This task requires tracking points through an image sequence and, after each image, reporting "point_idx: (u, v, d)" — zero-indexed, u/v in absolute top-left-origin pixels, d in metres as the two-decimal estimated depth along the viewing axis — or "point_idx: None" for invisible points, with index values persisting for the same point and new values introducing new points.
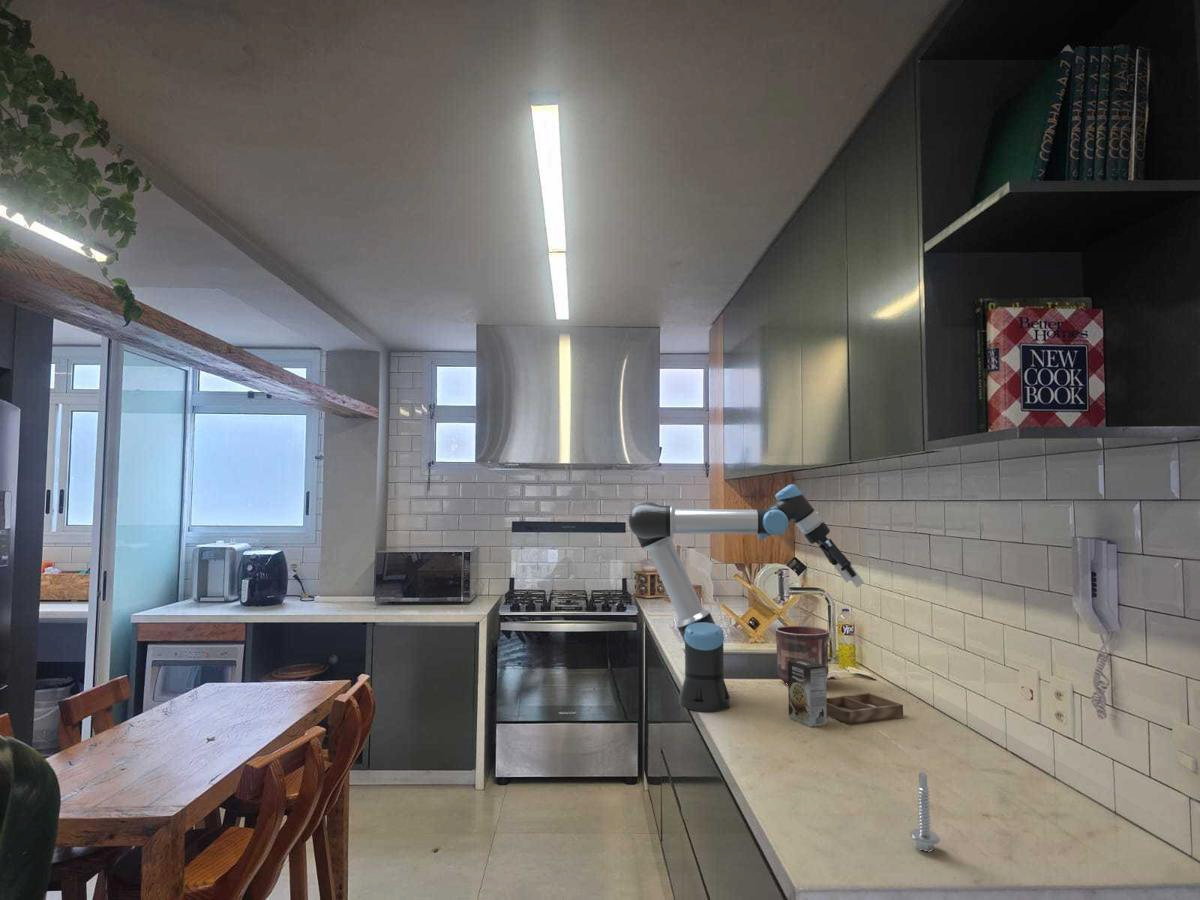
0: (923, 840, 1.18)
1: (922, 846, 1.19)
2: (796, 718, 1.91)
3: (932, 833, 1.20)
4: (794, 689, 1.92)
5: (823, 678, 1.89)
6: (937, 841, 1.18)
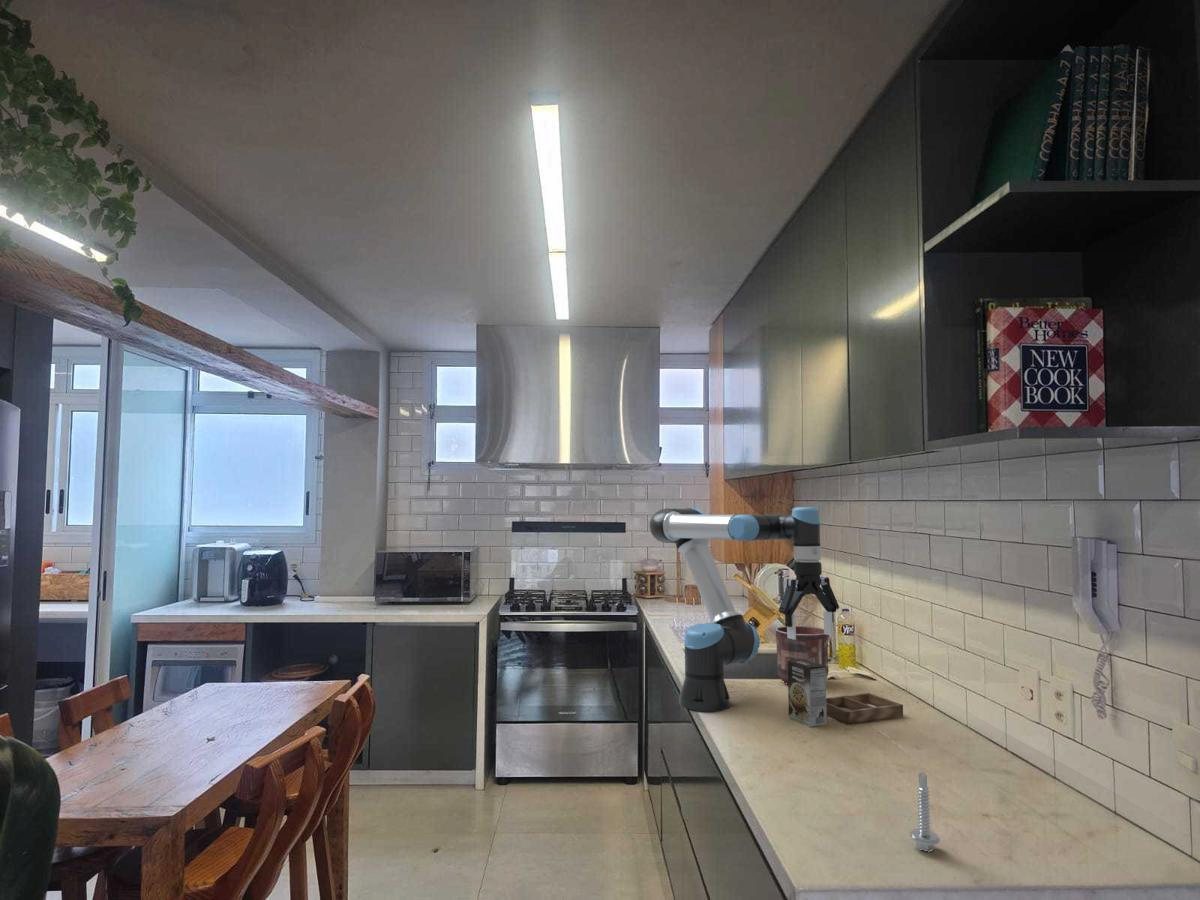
0: (923, 840, 1.18)
1: (922, 846, 1.19)
2: (796, 718, 1.91)
3: (932, 833, 1.20)
4: (794, 689, 1.92)
5: (822, 678, 1.89)
6: (937, 841, 1.18)
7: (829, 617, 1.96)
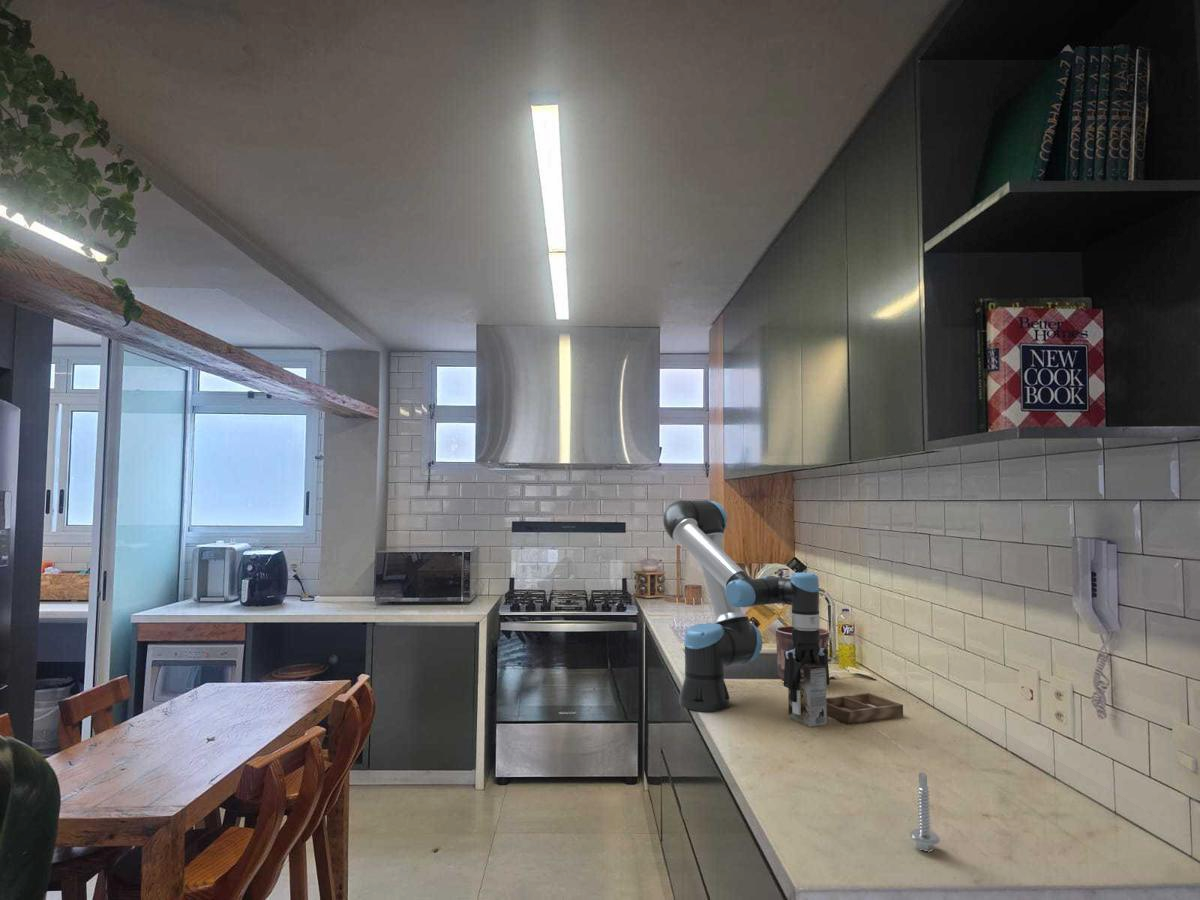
0: (923, 840, 1.18)
1: (922, 846, 1.19)
2: (796, 718, 1.91)
3: (932, 833, 1.20)
4: None
5: (822, 678, 1.89)
6: (937, 841, 1.18)
7: None
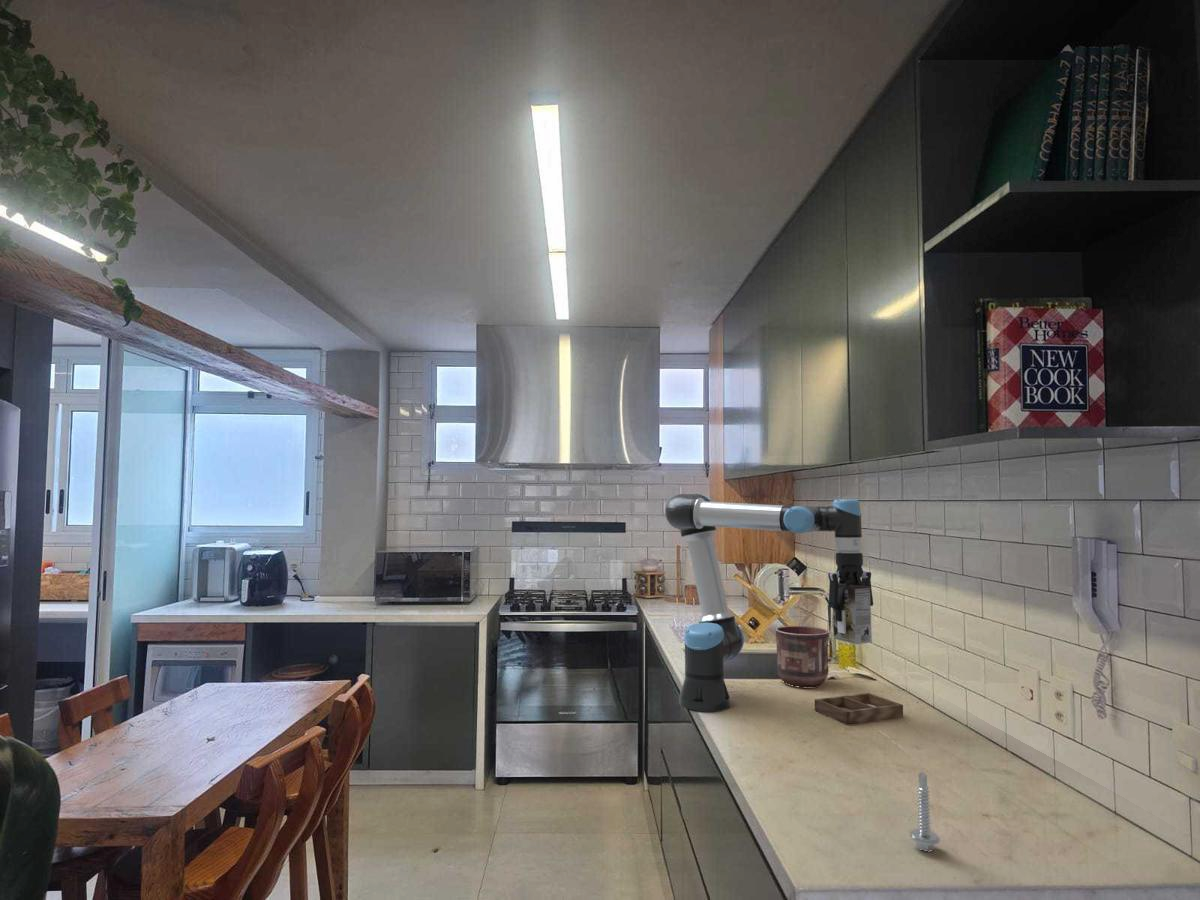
0: (923, 840, 1.18)
1: (922, 846, 1.19)
2: (841, 637, 1.98)
3: (932, 833, 1.20)
4: None
5: (867, 597, 1.96)
6: (937, 841, 1.18)
7: None
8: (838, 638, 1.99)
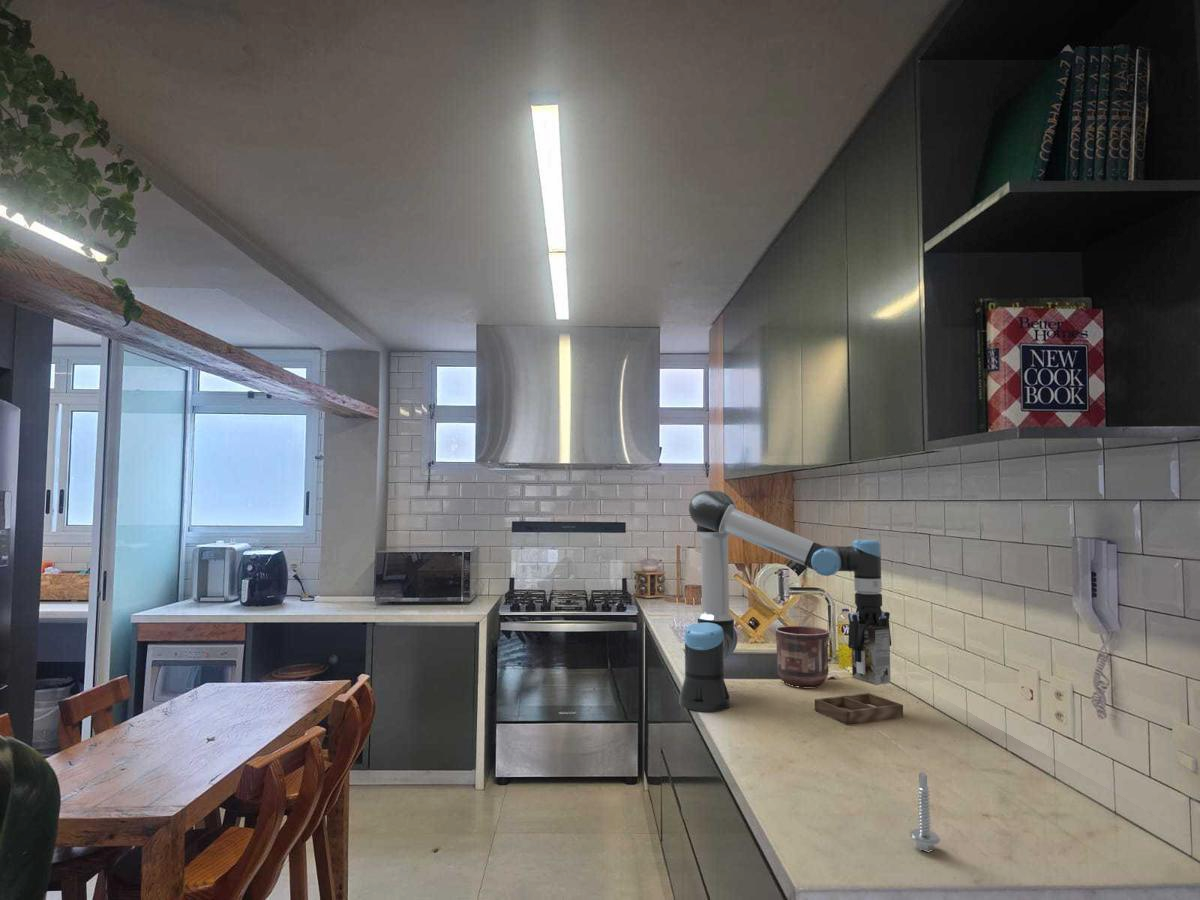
0: (923, 840, 1.18)
1: (922, 846, 1.19)
2: (861, 678, 1.99)
3: (932, 833, 1.20)
4: None
5: (886, 638, 1.98)
6: (937, 841, 1.18)
7: None
8: (857, 678, 2.01)
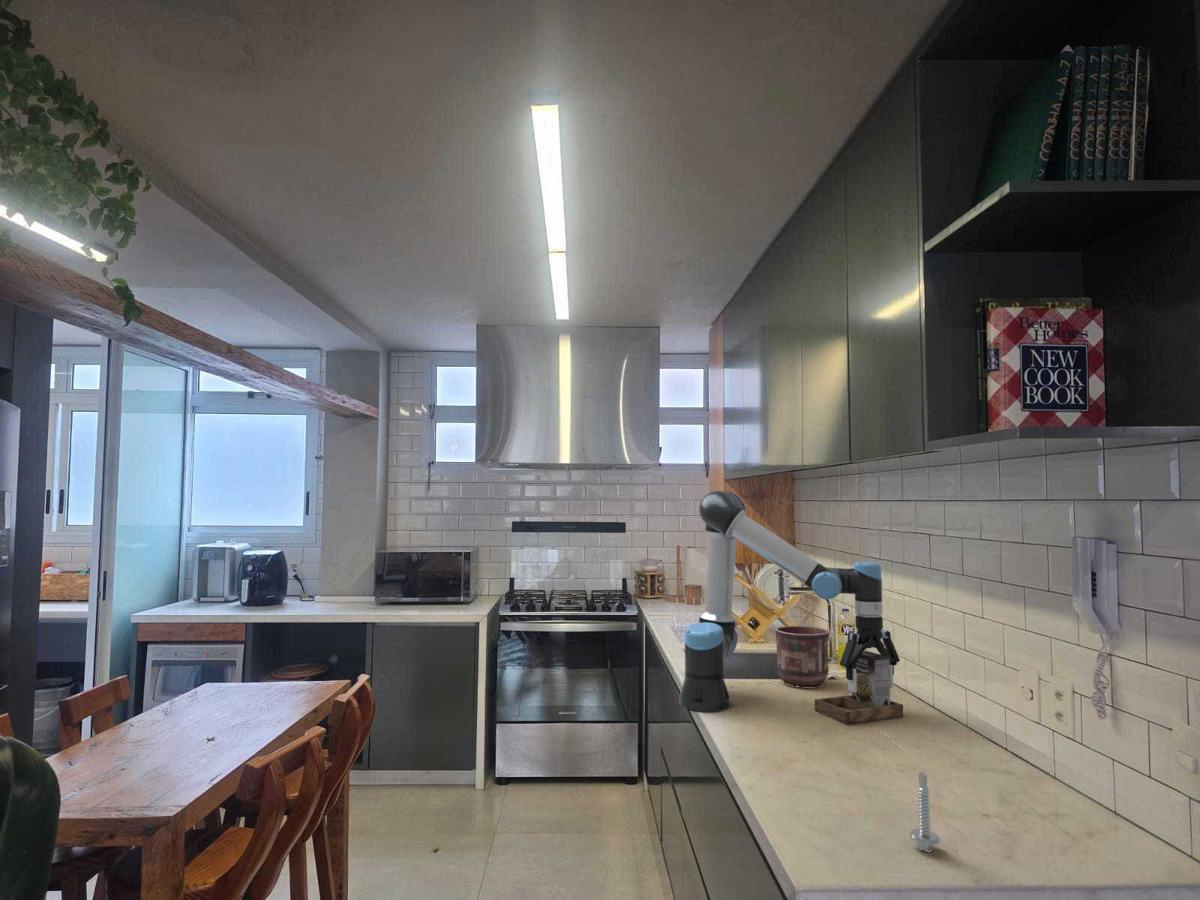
0: (923, 840, 1.18)
1: (922, 846, 1.19)
2: None
3: (932, 833, 1.20)
4: (858, 679, 2.00)
5: (886, 668, 1.97)
6: (937, 841, 1.18)
7: None
8: None
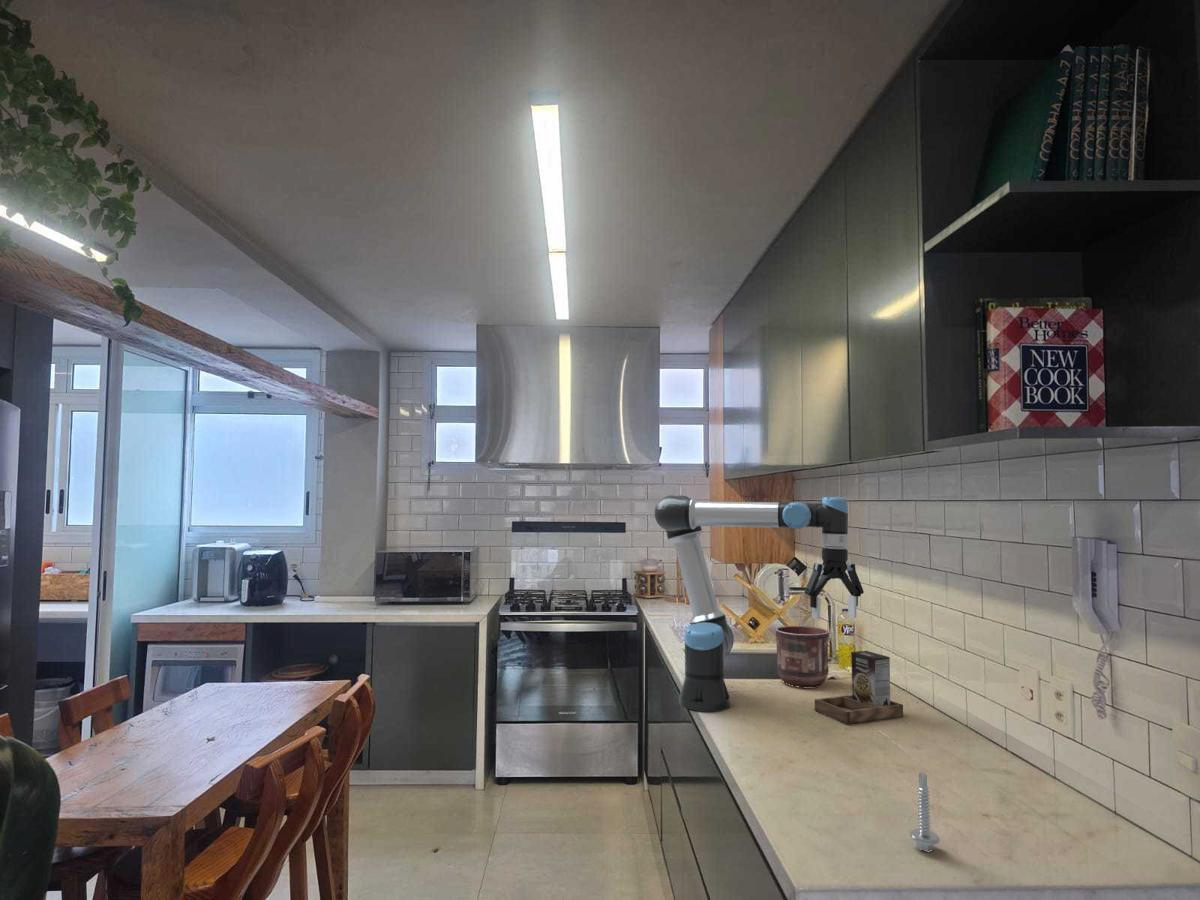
0: (923, 840, 1.18)
1: (922, 846, 1.19)
2: None
3: (932, 833, 1.20)
4: (858, 679, 2.00)
5: (886, 668, 1.97)
6: (937, 841, 1.18)
7: (853, 601, 2.09)
8: None
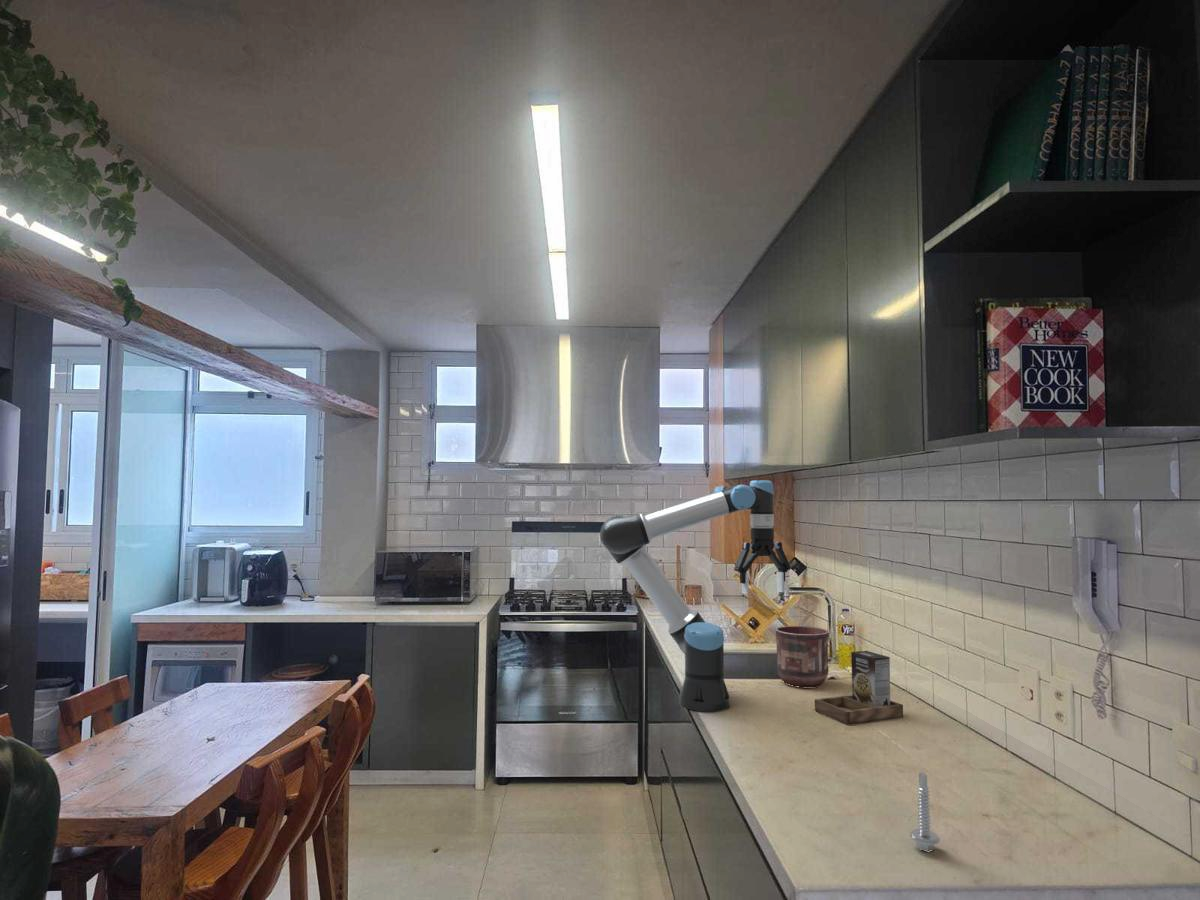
0: (923, 840, 1.18)
1: (922, 846, 1.19)
2: None
3: (932, 833, 1.20)
4: (858, 679, 2.00)
5: (886, 668, 1.97)
6: (937, 841, 1.18)
7: (781, 576, 2.24)
8: None
